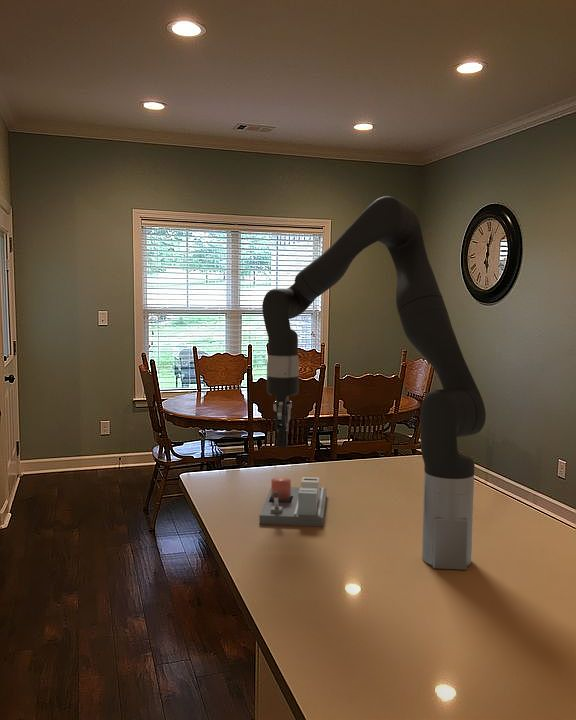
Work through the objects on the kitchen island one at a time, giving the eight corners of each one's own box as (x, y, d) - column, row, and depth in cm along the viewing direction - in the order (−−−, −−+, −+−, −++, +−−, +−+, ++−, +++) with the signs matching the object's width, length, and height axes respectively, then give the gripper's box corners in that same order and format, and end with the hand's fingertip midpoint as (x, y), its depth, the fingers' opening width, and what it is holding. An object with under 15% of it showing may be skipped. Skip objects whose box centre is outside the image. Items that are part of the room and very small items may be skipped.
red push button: (289, 500, 151) (289, 482, 151) (270, 499, 152) (270, 482, 151) (291, 494, 156) (291, 477, 155) (272, 493, 156) (272, 476, 156)
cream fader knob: (318, 503, 151) (318, 481, 150) (301, 502, 151) (301, 480, 151) (318, 498, 155) (319, 476, 154) (302, 497, 155) (302, 476, 155)
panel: (322, 526, 141) (322, 495, 140) (259, 524, 142) (259, 492, 142) (326, 496, 163) (326, 468, 162) (271, 494, 164) (271, 466, 164)
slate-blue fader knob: (316, 515, 142) (316, 492, 142) (298, 515, 142) (298, 492, 142) (317, 509, 146) (317, 487, 146) (299, 509, 146) (299, 486, 146)
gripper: (296, 377, 144) (295, 453, 146) (301, 371, 157) (300, 440, 159) (262, 377, 145) (262, 452, 147) (270, 370, 158) (270, 439, 160)
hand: (282, 446), depth 153 cm, fingers closed
